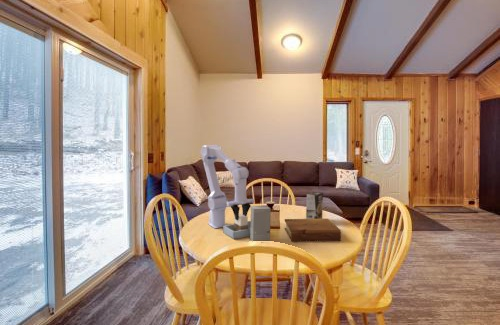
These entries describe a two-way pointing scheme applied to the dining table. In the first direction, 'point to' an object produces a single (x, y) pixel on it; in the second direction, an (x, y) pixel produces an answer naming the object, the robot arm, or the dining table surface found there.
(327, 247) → the dining table surface
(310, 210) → the coffee box
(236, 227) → the walnut block
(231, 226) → the tote
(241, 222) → the cream box
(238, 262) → the dining table surface
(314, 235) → the brown flat block
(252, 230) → the skincare box
